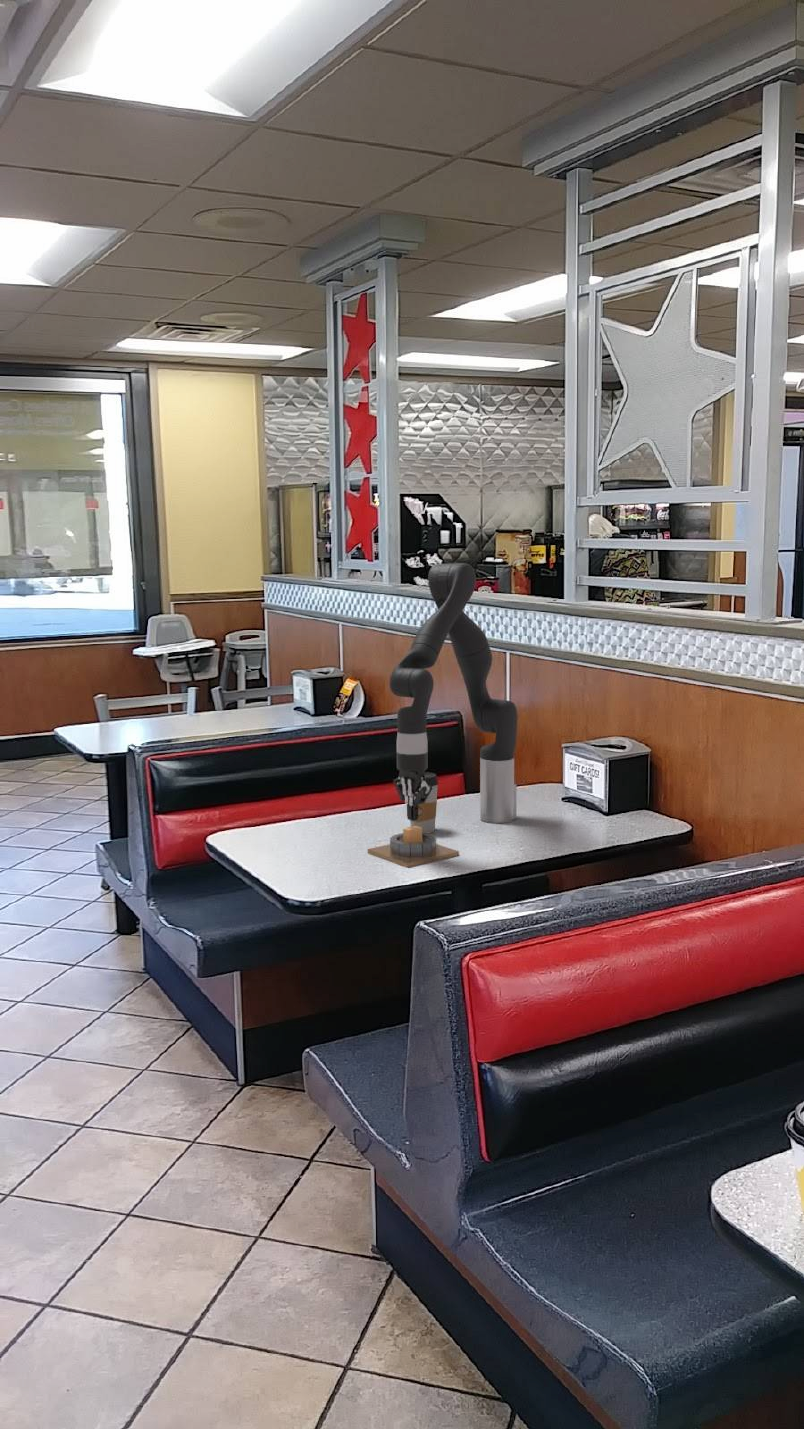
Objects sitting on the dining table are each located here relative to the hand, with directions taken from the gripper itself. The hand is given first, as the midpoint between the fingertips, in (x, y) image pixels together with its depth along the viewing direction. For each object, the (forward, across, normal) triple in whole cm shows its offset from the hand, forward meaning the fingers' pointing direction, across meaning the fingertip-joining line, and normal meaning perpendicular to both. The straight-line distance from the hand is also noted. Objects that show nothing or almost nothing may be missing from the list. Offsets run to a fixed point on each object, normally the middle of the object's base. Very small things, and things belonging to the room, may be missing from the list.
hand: (412, 819), depth 273 cm
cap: (+8, 0, 0) cm, 8 cm away
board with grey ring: (+9, 0, 0) cm, 9 cm away
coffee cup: (+9, +16, -16) cm, 24 cm away
